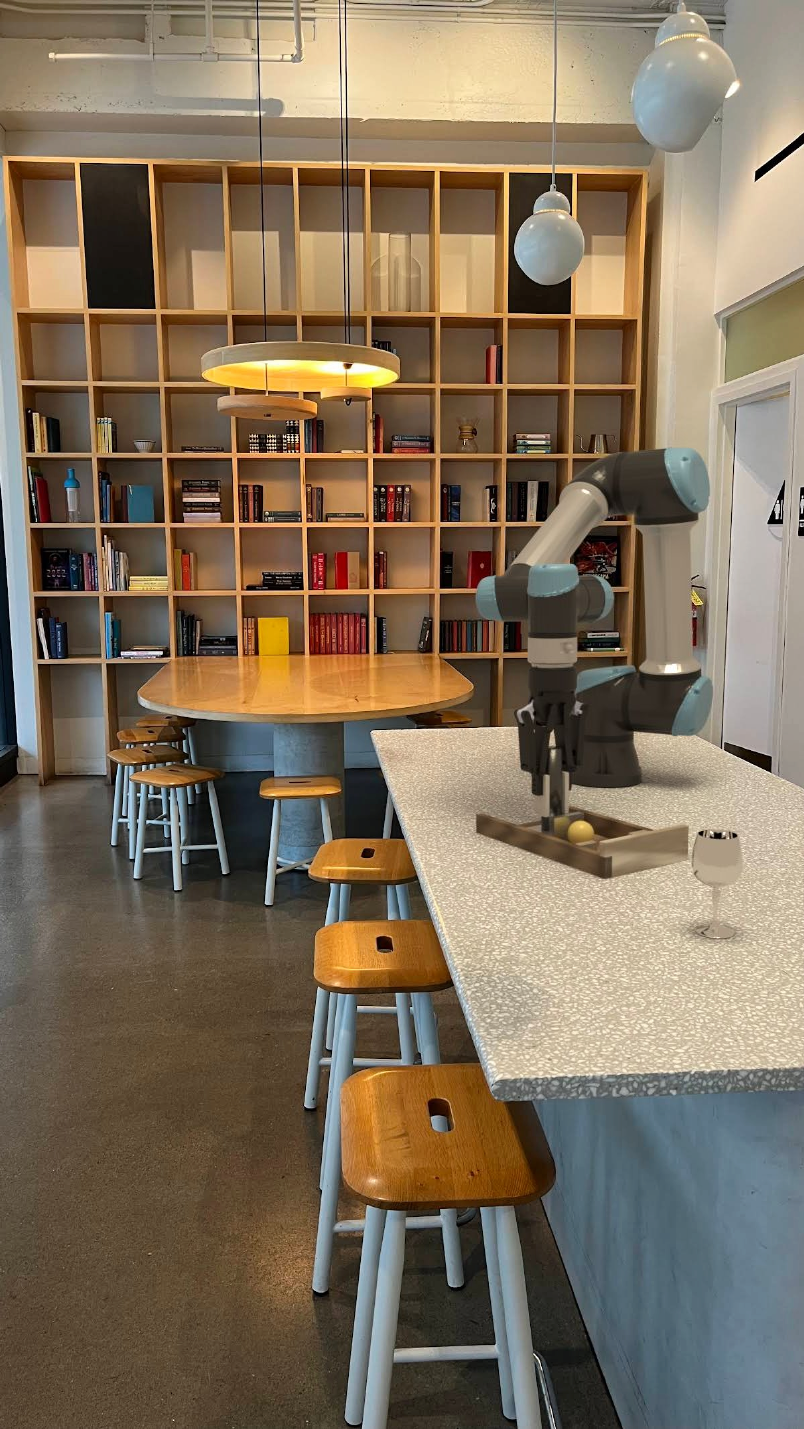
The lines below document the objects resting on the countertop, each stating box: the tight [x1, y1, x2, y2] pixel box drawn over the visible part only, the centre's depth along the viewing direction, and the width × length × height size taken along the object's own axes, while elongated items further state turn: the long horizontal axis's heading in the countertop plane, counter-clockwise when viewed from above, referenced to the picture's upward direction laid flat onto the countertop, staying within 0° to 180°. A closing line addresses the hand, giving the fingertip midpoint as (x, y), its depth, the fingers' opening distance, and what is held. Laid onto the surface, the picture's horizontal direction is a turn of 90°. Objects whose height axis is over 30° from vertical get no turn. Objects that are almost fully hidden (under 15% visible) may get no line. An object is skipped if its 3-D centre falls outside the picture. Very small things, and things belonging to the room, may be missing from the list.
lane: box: [475, 805, 690, 880], centre depth 156 cm, size 30×16×6 cm, turn 32°
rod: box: [527, 745, 584, 841], centre depth 159 cm, size 7×9×14 cm
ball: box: [568, 821, 594, 844], centre depth 155 cm, size 4×4×4 cm
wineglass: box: [691, 829, 744, 939], centre depth 121 cm, size 6×6×12 cm
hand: (551, 813), depth 160 cm, fingers closed on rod, 3 cm apart
